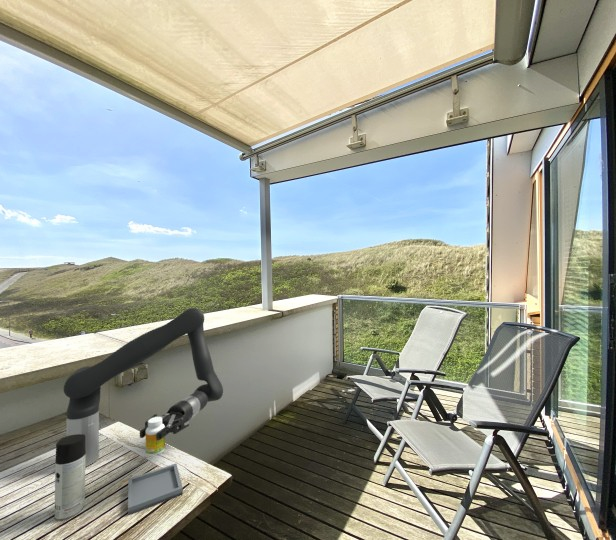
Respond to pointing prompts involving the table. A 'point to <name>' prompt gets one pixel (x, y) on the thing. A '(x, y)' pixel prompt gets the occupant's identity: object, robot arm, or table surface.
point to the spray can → (69, 476)
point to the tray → (153, 488)
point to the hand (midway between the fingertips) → (149, 435)
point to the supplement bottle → (154, 437)
